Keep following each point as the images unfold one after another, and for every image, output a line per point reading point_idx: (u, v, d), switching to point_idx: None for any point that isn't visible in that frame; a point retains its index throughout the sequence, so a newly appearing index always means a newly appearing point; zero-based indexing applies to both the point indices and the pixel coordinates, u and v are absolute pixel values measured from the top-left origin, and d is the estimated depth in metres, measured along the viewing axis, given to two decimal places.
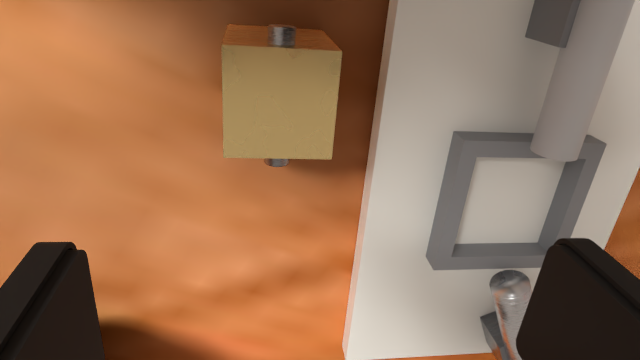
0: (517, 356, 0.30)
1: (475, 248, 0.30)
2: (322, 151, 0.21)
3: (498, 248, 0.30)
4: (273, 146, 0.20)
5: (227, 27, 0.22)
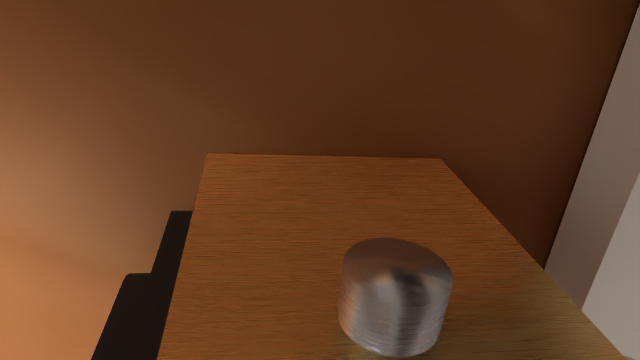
0: None
1: None
2: None
3: None
4: None
5: (202, 179, 0.08)
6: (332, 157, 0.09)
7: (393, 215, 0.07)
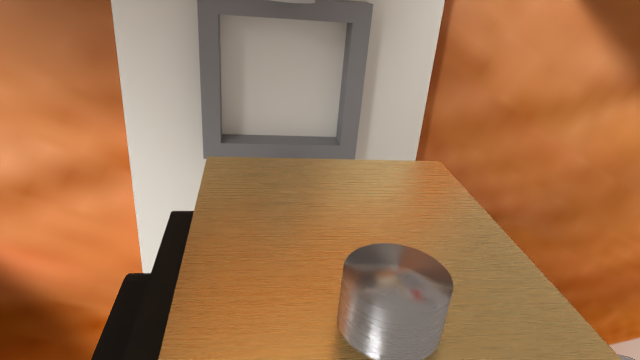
0: None
1: (257, 138, 0.27)
2: None
3: (284, 139, 0.27)
4: None
5: (202, 183, 0.08)
6: (332, 160, 0.09)
7: (393, 218, 0.07)
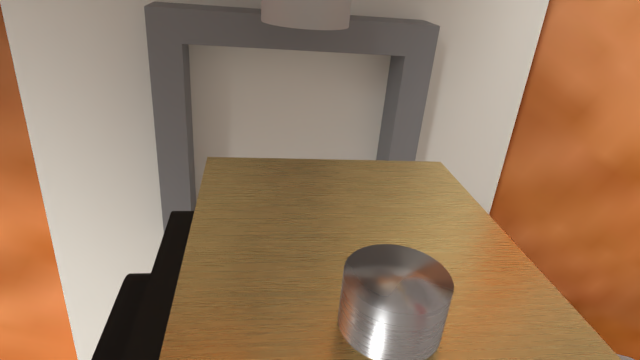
0: None
1: None
2: None
3: None
4: None
5: (202, 183, 0.08)
6: (332, 161, 0.09)
7: (393, 219, 0.07)
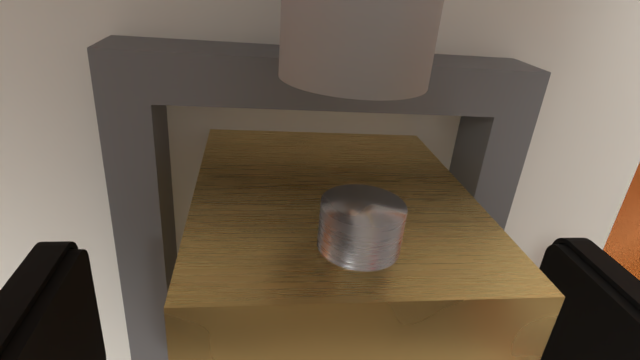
0: None
1: None
2: None
3: None
4: None
5: (206, 149, 0.09)
6: (320, 133, 0.11)
7: (369, 177, 0.09)
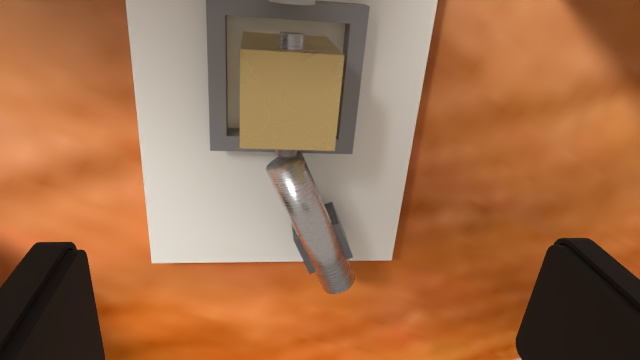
0: (307, 247, 0.29)
1: None
2: (326, 143, 0.24)
3: None
4: (283, 138, 0.23)
5: (243, 34, 0.25)
6: None
7: None
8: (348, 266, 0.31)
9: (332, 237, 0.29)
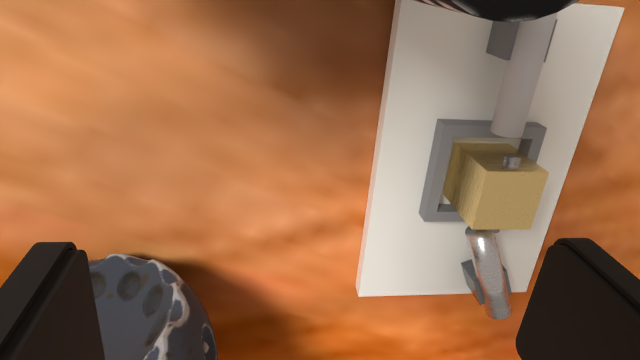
0: (487, 287, 0.41)
1: None
2: (526, 225, 0.35)
3: None
4: (500, 222, 0.35)
5: (460, 147, 0.37)
6: None
7: (503, 153, 0.36)
8: (509, 300, 0.42)
9: (504, 280, 0.41)
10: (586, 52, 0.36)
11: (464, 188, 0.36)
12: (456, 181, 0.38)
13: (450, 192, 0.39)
